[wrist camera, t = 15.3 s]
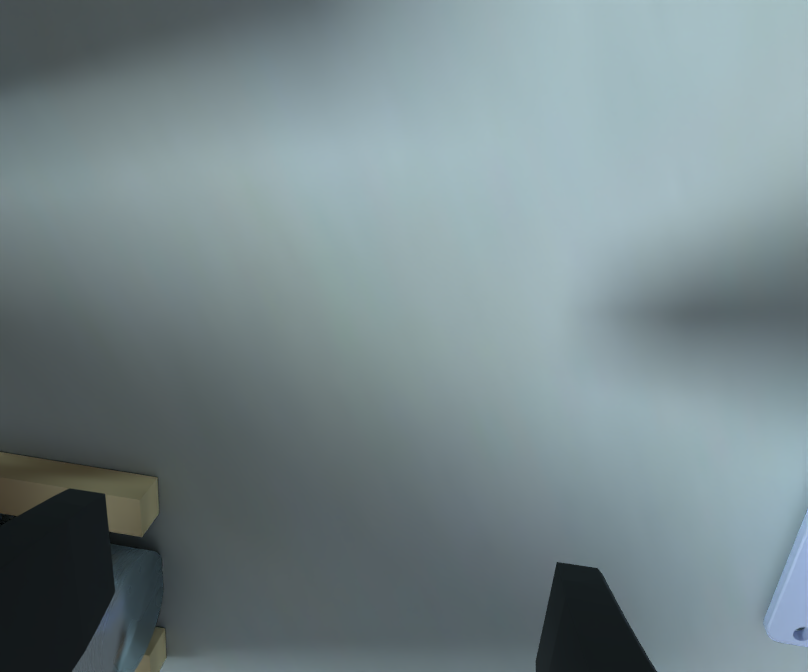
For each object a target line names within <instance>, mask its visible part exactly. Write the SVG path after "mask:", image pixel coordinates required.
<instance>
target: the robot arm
mask: <svg viewBox="0 0 808 672" xmlns="http://www.w3.org/2000/svg"><path fill="white" fill-rule="evenodd" d="M114 594H115V585H114V575H113V565H112V556H111V546H110V536H109V526H108V517H107V507H106V497H105V494H104V493H97V492H91V491H84V490H78V489H71V488H69V489H67V490H65V491H63V492H61V493H59V494H57V495H55V496H53V497H51V498H49V499H47V500H46V501H44V502H42V503H40V504H38V505H36V506H35V507H33V508H31V509H29V510H27V511H26V512H24V513H22V514H20V515H19V516H17V517H15V518H13V519H12V520H10V521H8V522H6V523H4V524H3V525H1V526H0V672H72V671H73V669H74V668H75V666H76V665H77V663H78V662H79V660H80V658H81V657H82V655H83V654H84V652H85V651H86V649H87V647H88V645H89V643H90V641H91V639H92V637H93V636H94V634H95V632H96V630H97V628H98V626H99V624H100V622H101V620H102V618H103V616H104V614H105V612H106V610H107V608H108V606H109V604H110V602H111V600H112V598H113V596H114ZM763 625H764V627H765V629H766V632H767V634H768V636H769V637H770V638H771V639H772V640H774V641H777V642H780V643H786V644H792V645H798V646H804V647H808V509H807V512H806V514H805V517H804V519H803V522H802V524H801V527H800V530H799V532H798V535H797V537H796V540H795V542H794V545H793V547H792V550H791V552H790V555H789V557H788V560H787V562H786V565H785V567H784V570H783V573H782V575H781V578H780V580H779V583H778V585H777V588H776V590H775V593H774V595H773V598H772V600H771V603H770V605H769V608H768V610H767V613H766V615H765V618H764V623H763ZM800 627H805V628H804V629H802V630H799V631H795V630H796V629H798V628H800ZM536 672H657V671H656V669H655V668H654V666H653V665H652V663H651V661H650V660H649V658H648V656H647V655H646V653H645V651H644V650H643V648H642V646H641V644H640V643H639V641H638V639H637V637H636V636H635V634H634V632H633V630H632V629H631V627H630V625H629V623H628V622H627V620H626V618H625V616H624V614H623V612H622V611H621V609H620V607H619V605H618V603H617V601H616V599H615V597H614V596H613V594H612V592H611V590H610V588H609V586H608V584H607V582H606V580H605V578H604V576H603V575H602V573H601V572H600V571H599V569H598V568H592V567H586V566H579V565H572V564H566V563H559V562H557V564H556V569H555V574H554V579H553V583H552V588H551V593H550V597H549V602H548V607H547V611H546V616H545V621H544V625H543V630H542V635H541V639H540V644H539V649H538V653H537V658H536Z"/></svg>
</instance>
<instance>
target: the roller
mask: <svg viewBox="0 0 808 672" xmlns="http://www.w3.org/2000/svg"><path fill="white" fill-rule="evenodd" d="M0 526H1V525H0ZM110 546H111V556H112V565H113V575H114V585H115V594H114V596H113V598H112V600H111V602H110V604H109V606H108V608H107V610H106V612H105V614H104V616H103V618H102V620H101V622H100V624H99V626H98V628H97V630H96V632H95V634H94V636H93V637H92V639H91V641H90V643H89V645H88V647H87V649H86V651H85V652H84V654H83V655H82V657H81V658H80V660H79V662H78V663H77V665H76V666H75V668H74V669H73V671H72V672H134V671H135V670H136V668H137V667H138V665H139V663H140V662H141V660H142V658H143V656H144V654H145V652H146V650H147V648H148V645H149V643H150V640H151V638H152V635H153V632H154V630H155V626H156V623H157V620H158V616H159V612H160V608H161V603H162V597H163V573H162V559H161V556H160V555H159V554H158V553H157V552H155V551H151V550H145V549H139V548H133V547H127V546H121V545H115V544H110Z"/></svg>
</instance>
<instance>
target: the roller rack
mask: <svg viewBox="0 0 808 672" xmlns="http://www.w3.org/2000/svg"><path fill="white" fill-rule="evenodd" d="M69 488H71V489H78V490H84V491H91V492H97V493H104V494H105V497H106V507H107V517H108V526H109V532H114V533H120V534H126V535H132V536H138V537H143V535H144V534H145V532H146V531H147V530H148V528H149V527H150V525H151V524H152V523H153V521H154V520H155V519H156V517H157V516H158V514H159V499H158V479H157V477H152V476H146V475H139V474H133V473H127V472H121V471H115V470H109V469H102V468H96V467H90V466H84V465H78V464H71V463H65V462H59V461H53V460H47V459H41V458H34V457H28V456H22V455H16V454H10V453H3V452H0V513H2V514H8V515H14V516H19V515H20V514H22V513H24V512H26V511H27V510H29V509H31V508H33V507H35V506H36V505H38V504H40V503H42V502H44V501H46V500H47V499H49V498H51V497H53V496H55V495H57V494H59V493H61V492H63V491H65V490H67V489H69ZM166 658H167V657H166V637H165V628H159V627H155V630H154V632H153V635H152V638H151V640H150V643H149V645H148V648H147V650H146V652H145V654H144V656H143V658H142V660H141V662H140V663H139V665H138V667H137V668H136V670H135V671H134V672H159V671H160V669H161V667H162V665H163V663H164V661H165V659H166Z"/></svg>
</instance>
